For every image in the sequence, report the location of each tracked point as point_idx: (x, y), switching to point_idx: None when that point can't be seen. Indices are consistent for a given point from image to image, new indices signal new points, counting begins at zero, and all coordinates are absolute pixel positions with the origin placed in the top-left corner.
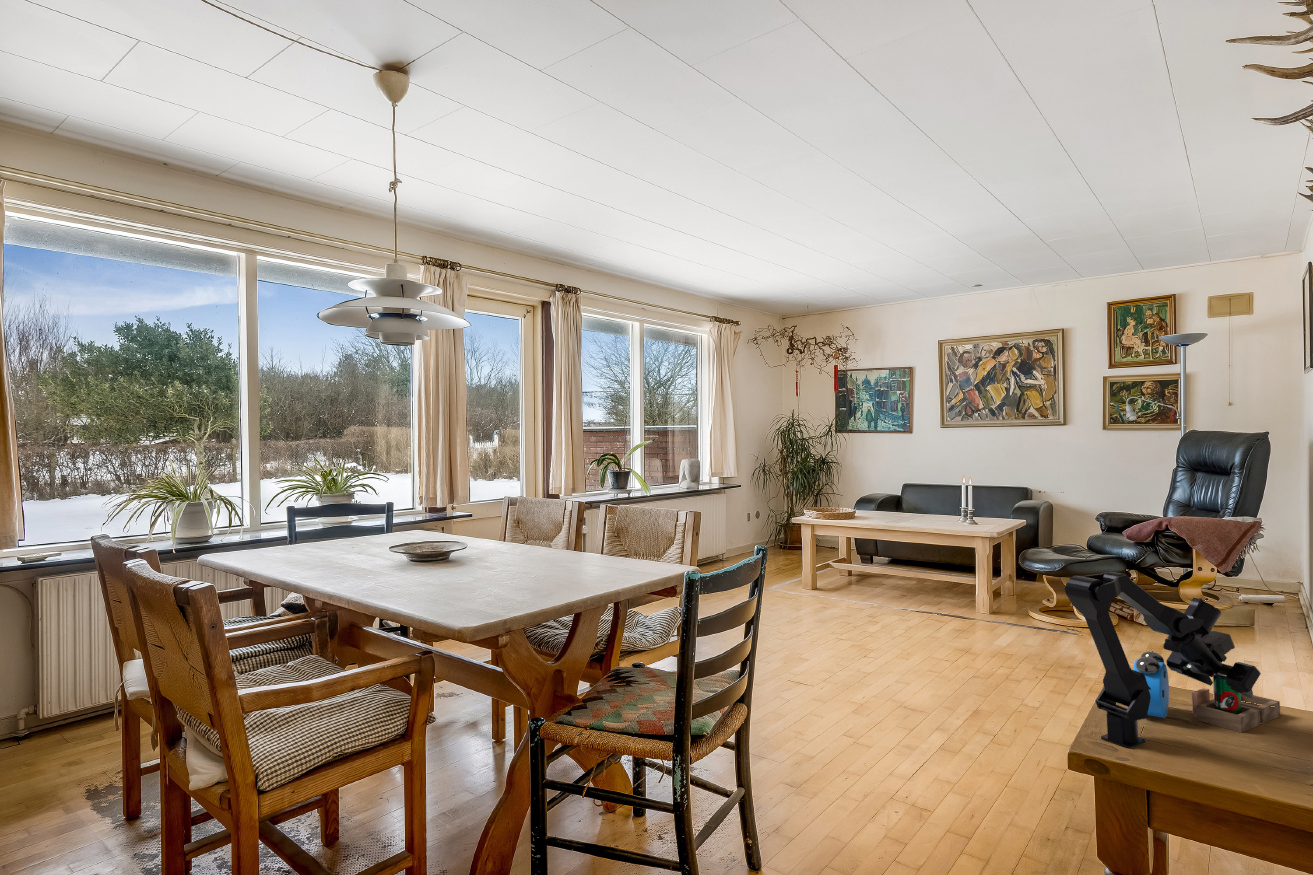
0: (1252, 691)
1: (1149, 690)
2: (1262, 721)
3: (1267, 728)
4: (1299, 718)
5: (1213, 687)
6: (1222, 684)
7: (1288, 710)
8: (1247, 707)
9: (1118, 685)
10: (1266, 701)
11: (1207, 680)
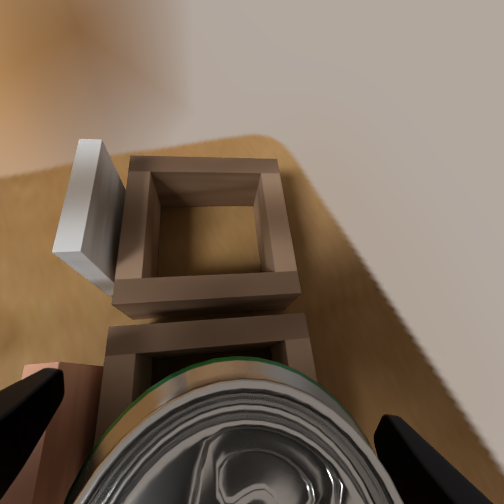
0: (432, 448)
1: None
2: (286, 306)
3: (321, 347)
4: (301, 177)
5: (63, 259)
6: None
7: (252, 139)
8: (265, 331)
9: None
10: (245, 178)
11: (8, 458)
